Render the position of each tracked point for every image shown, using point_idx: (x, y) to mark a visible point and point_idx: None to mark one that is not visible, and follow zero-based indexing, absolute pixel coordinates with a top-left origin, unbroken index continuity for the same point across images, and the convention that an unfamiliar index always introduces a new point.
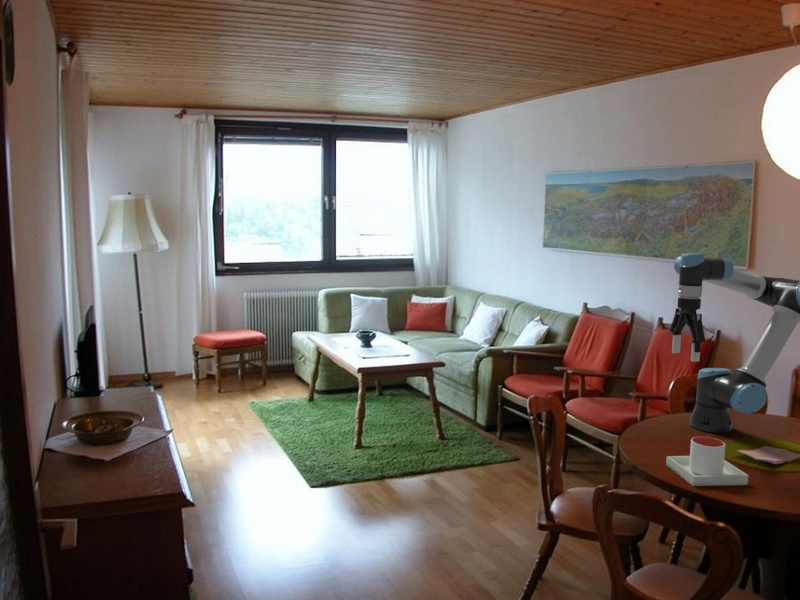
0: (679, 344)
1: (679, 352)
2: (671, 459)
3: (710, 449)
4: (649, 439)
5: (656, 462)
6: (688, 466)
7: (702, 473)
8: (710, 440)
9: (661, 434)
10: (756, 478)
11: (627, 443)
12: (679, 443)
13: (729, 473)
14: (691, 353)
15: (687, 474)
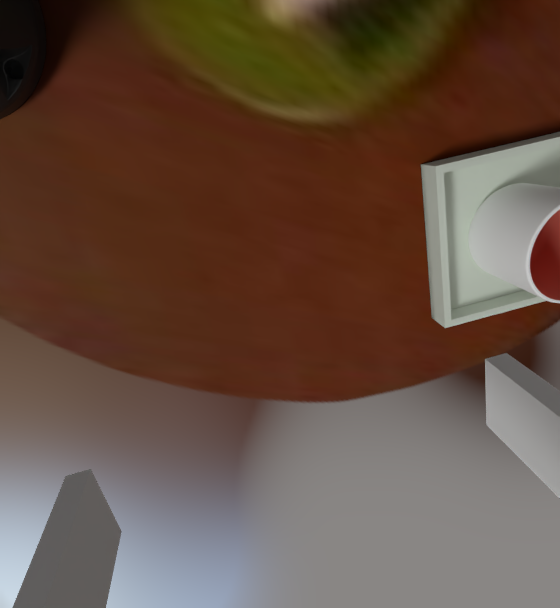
0: (62, 576)
1: (90, 478)
2: (469, 319)
3: None
4: (208, 325)
5: (412, 337)
6: (462, 266)
7: (541, 250)
8: (534, 226)
9: (138, 276)
10: (537, 74)
11: (262, 392)
12: (231, 234)
13: (519, 159)
14: (545, 479)
15: None
